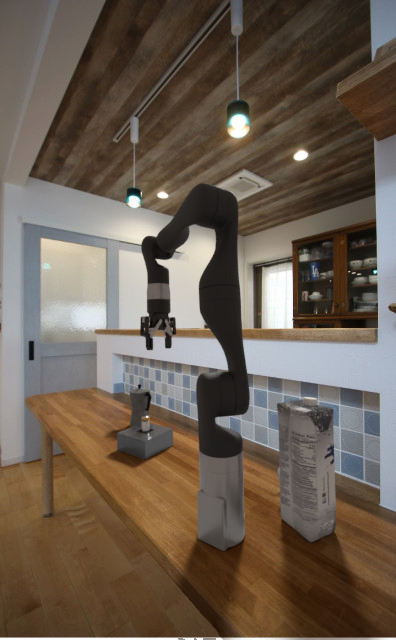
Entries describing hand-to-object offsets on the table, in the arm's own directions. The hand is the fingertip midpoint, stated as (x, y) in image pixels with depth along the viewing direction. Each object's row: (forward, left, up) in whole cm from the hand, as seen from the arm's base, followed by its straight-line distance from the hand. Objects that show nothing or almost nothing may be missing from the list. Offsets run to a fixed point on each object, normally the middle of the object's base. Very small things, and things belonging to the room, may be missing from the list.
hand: (159, 349), depth 93 cm
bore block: (+6, +13, -36) cm, 39 cm away
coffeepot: (+22, +32, -36) cm, 53 cm away
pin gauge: (+6, +13, -35) cm, 38 cm away
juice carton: (-4, -46, -36) cm, 59 cm away
